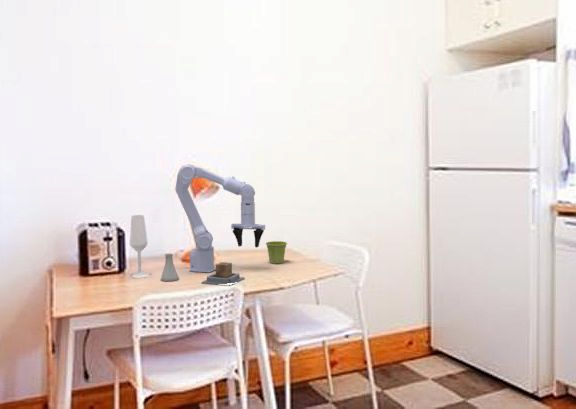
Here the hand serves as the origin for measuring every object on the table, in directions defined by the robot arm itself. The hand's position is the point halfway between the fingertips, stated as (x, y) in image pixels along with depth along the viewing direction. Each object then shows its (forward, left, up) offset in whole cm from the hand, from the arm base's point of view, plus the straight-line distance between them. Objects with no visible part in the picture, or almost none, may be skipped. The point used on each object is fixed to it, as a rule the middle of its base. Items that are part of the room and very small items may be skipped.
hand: (248, 246), depth 235 cm
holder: (0, -23, -9) cm, 25 cm away
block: (0, -23, -9) cm, 24 cm away
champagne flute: (-36, -25, -10) cm, 45 cm away
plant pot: (+6, +16, -10) cm, 20 cm away
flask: (-21, -27, -10) cm, 36 cm away
